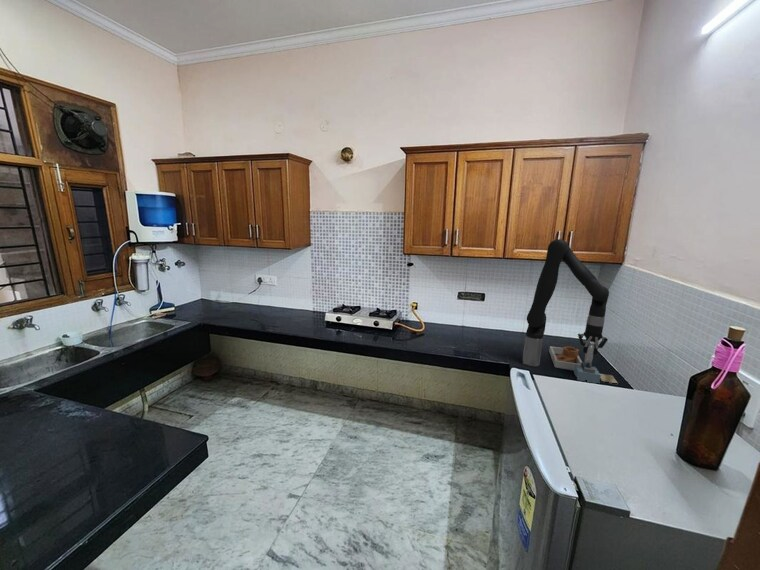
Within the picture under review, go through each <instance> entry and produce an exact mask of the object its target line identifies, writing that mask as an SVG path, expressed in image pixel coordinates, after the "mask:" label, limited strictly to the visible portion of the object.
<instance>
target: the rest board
mask: <svg viewBox="0 0 760 570" xmlns="http://www.w3.org/2000/svg"><path fill="white" fill-rule="evenodd" d="M600 375H601V377H600V382H602V381H603V382H602V383H605V382H609V383H608V384H612V383H617V384H616V385H618V384H619V382H618V381H617V380H616V379H615V377H614V375H611V374H605V373H600Z"/></svg>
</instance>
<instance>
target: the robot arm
mask: <svg viewBox="0 0 760 570" xmlns="http://www.w3.org/2000/svg"><path fill="white" fill-rule="evenodd" d="M544 261H545V262H544V264H543V267H542V270H541V272H540V275H539V278H538V281H537V284H536V288H535V291H534V292H535V293H534V297H533V300H532V304H531V306H530V309H529V311H528V313H527V314H526V315H527V316H526V322H527V324H528V325H527V329H526V331H525V332H526V333H525V339H524V340H525V341H524V345H523V350H522V351H523V352H522V364H523V365H527V366H530V367H539V366H540V363H541V355H542V348H543V340H544V336H545V335H544V334H545V331H546V325H547V324H546V323H547V314H546V310H547V309H546V308H547V307H548V304H549V302H550V300H551V299H552V296H553V294H554V292H555V290H556V286H557V283H558V280H559V270H560V265H561V262H562V261H563V263H564V264H566V265H567V268H569V270H570V272H571V273H572V274H573V276H574V277H575V278H576V280H578V282H579V283H580V284H581V285H582V286H583V287H584V288H585V290H586V291H587V292H588V293H589V294H590V296H591V297H592V298H591V303H590V307H589V311H588V316H587V319H586V325H585V329H584V332H583V333H578V334H577V337H578V340H579V345H581V346H582V352H583V353H584V354H585V353H586V352H587V346H588V344H589V343H592V342H593V344H594V345H595V349H594V354H593V356H596V355H597V353H598V349H602V348H603V347H604V346H605V345H606V343H607V342H608V341H609V339H608V338H607V337H605V336H603V330H604V327H605V326H604V324H605V316H606V313H607V311H606V310H607V303H608V299H609V296H610V290H609V289H608V288H607V286H603V285H602V284H601V283H600V282H599V280H598V278H597V277H596V276H595V275H594V274H593V272H592V271H590V269H589V268H588V267H586V265H585V264H583V262H582V261H581V260H580V259H579V258H578V257H577V255H576V254H575V252H573V250H572V249H571V247H570V246H569V244H568V242H567V241H566V240H564V239H561V238H559V239H554V240H552V241H550V243H549V244H548V246H547V250H546V256H545V260H544ZM583 338H584V339H585V340H584V341H583ZM600 340H601V341H600ZM599 341H600V342H599Z"/></svg>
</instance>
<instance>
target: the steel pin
mask: <svg viewBox="0 0 760 570" xmlns="http://www.w3.org/2000/svg"><path fill="white" fill-rule="evenodd" d="M594 349H595V345H594V343H592V342H589V344H588V346H587V352H586V353H584V359H583V362H584V364H583V366H584V367H587V368H591V364H592V363H593V358H594V355H593V354H594Z"/></svg>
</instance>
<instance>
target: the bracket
mask: <svg viewBox="0 0 760 570" xmlns="http://www.w3.org/2000/svg"><path fill="white" fill-rule="evenodd" d="M562 348H563V353H562V354H557V355H556V354H555V355H556V357H557V360H558V361H564V362H571V363H576V358H577V356H579V354H580V353H579V352H580V350H579V349H578V348H575V347H574V346H570V345H569V346H563V347H562Z"/></svg>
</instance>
